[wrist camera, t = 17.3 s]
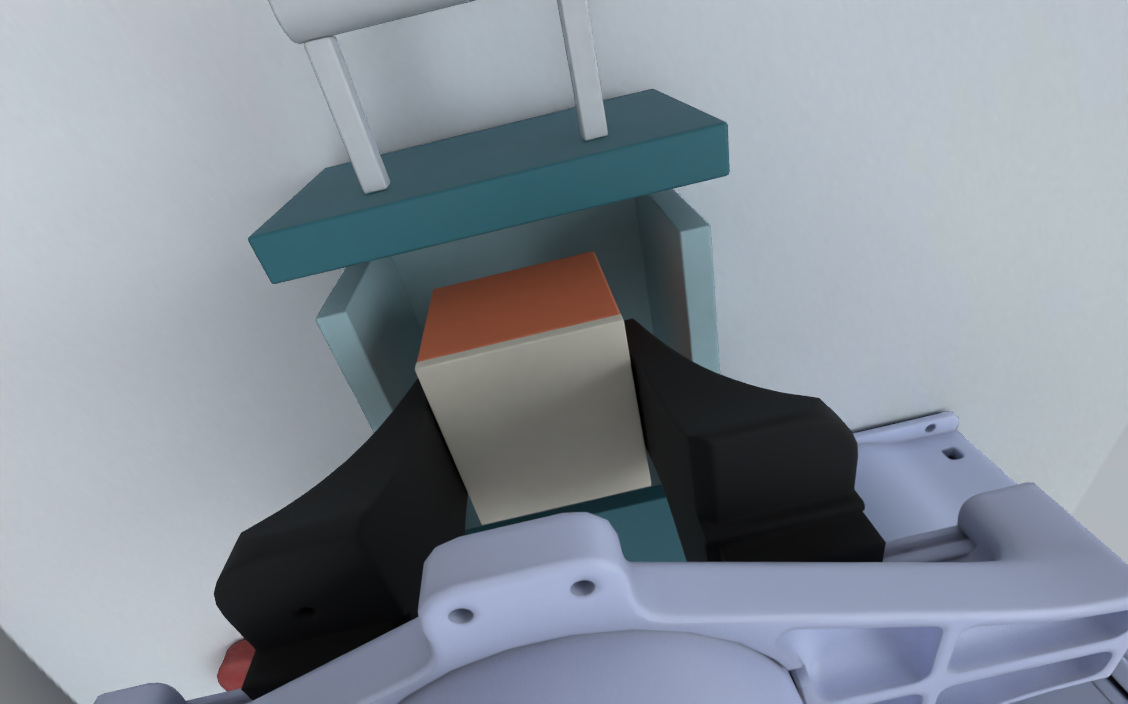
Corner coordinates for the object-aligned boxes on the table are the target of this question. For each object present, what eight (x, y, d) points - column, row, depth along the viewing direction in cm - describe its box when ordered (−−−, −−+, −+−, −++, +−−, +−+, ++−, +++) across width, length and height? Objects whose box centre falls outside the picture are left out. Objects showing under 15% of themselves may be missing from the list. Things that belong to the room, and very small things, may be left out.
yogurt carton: (621, 394, 17) (651, 486, 14) (483, 426, 17) (481, 525, 14) (594, 249, 15) (623, 320, 11) (431, 288, 15) (414, 369, 11)
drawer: (249, -1, 15) (108, -10, 10) (634, -97, 15) (717, -163, 9) (444, 445, 24) (429, 574, 19) (686, 388, 24) (744, 501, 19)
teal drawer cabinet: (418, 403, 24) (386, 562, 17) (690, 339, 24) (772, 473, 17) (498, 583, 31) (499, 748, 24) (709, 535, 31) (772, 687, 24)
